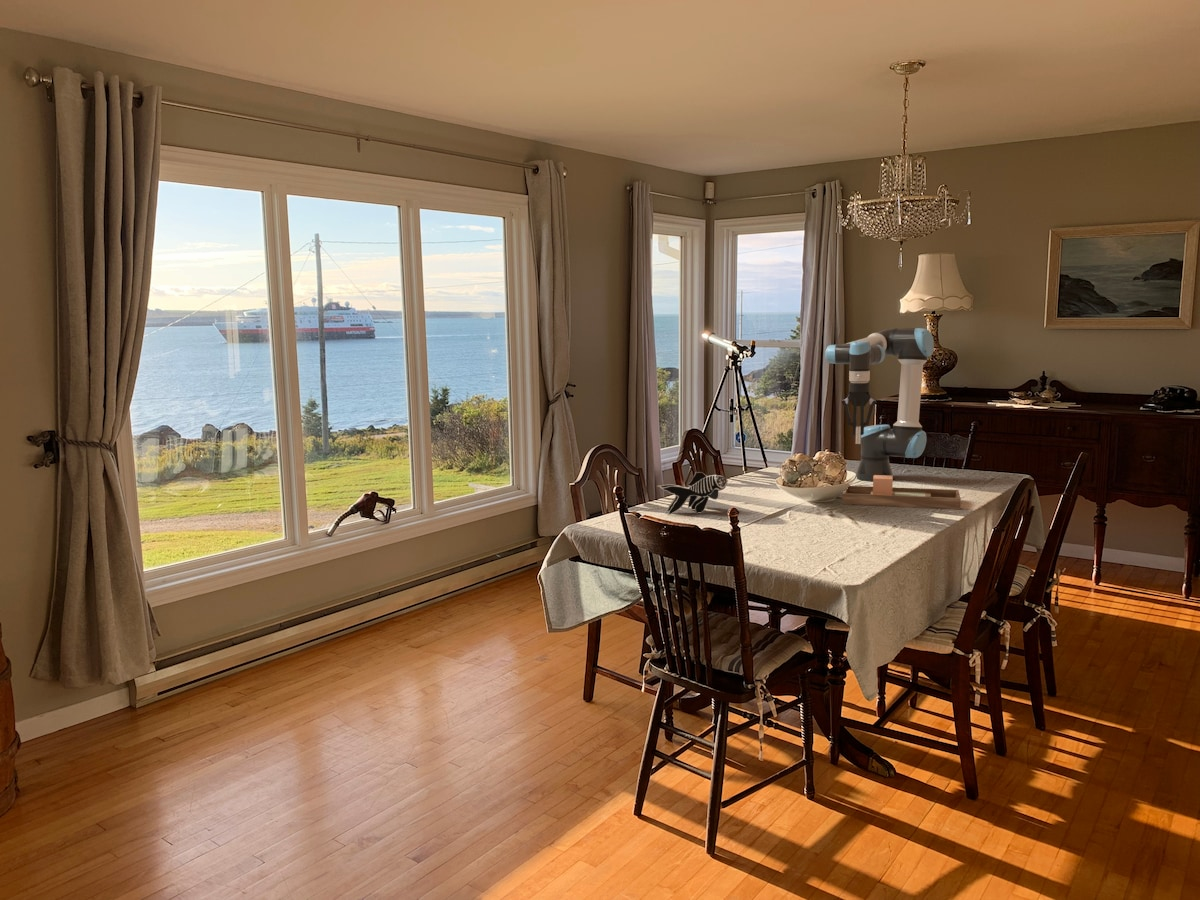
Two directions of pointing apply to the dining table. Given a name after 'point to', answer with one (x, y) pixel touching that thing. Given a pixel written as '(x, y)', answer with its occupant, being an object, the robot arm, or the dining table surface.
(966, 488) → the dining table surface
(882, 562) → the dining table surface
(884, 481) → the block
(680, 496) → the decorative fish
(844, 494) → the trap box
